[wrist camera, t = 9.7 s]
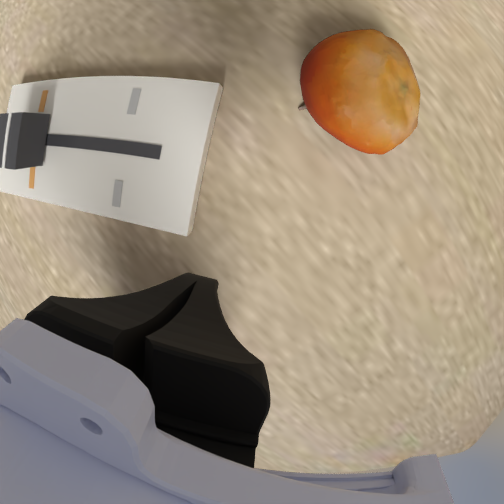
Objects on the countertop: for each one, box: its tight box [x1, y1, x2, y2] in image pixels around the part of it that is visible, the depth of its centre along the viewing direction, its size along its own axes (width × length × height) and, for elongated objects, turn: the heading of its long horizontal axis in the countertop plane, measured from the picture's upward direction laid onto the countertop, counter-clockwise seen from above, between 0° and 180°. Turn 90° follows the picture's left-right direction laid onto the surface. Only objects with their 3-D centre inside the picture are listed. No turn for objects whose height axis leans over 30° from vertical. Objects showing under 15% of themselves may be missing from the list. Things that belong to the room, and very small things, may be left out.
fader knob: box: [0, 112, 50, 170], centre depth 17 cm, size 4×4×4 cm
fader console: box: [0, 76, 223, 236], centre depth 19 cm, size 22×11×2 cm, turn 77°
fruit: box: [299, 29, 420, 154], centre depth 15 cm, size 8×8×8 cm
